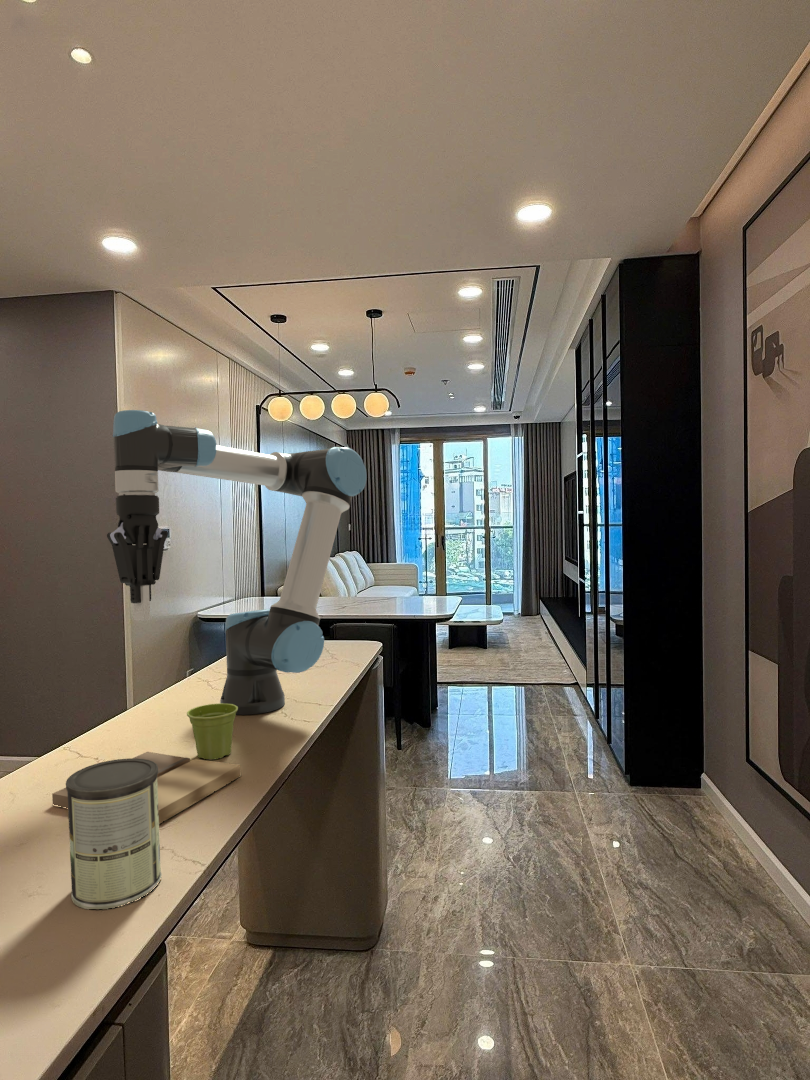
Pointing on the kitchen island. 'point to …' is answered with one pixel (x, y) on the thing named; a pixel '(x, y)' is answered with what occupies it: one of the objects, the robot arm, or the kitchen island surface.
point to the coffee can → (113, 832)
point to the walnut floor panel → (162, 760)
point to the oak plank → (192, 784)
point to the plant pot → (213, 729)
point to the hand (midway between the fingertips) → (141, 619)
